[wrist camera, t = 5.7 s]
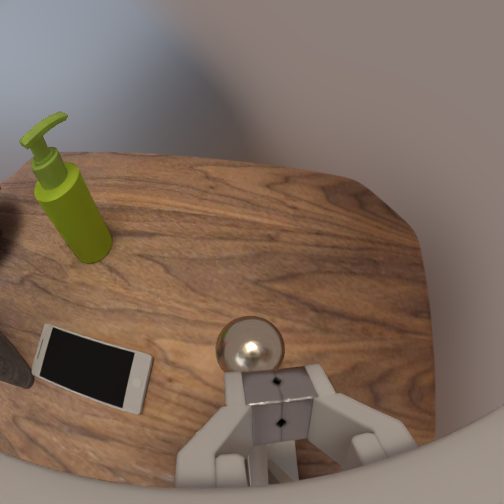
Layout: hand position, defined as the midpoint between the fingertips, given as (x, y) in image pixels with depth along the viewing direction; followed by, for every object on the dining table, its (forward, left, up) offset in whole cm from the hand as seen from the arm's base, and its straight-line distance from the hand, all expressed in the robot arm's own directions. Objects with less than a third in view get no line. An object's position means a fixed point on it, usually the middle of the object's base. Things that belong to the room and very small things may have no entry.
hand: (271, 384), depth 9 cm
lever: (-2, -1, -10) cm, 10 cm away
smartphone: (-2, +18, -24) cm, 30 cm away
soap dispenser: (+14, +25, -24) cm, 38 cm away
